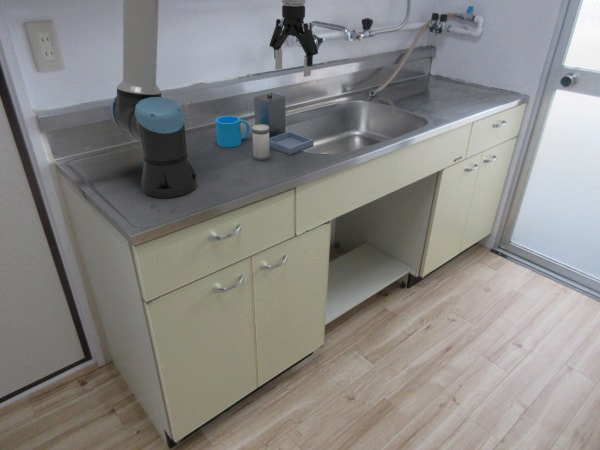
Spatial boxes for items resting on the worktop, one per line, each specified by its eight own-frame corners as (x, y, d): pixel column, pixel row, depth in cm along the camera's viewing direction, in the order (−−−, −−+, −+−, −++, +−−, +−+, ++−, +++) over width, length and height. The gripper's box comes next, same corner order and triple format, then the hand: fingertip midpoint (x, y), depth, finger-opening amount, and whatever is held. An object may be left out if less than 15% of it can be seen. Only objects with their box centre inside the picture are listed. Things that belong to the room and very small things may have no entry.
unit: (269, 141, 158) (268, 99, 150) (255, 136, 162) (254, 94, 154) (286, 135, 163) (285, 94, 156) (272, 130, 167) (271, 90, 160)
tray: (290, 155, 148) (290, 148, 147) (265, 146, 155) (265, 139, 153) (313, 146, 155) (313, 139, 154) (289, 137, 162) (289, 131, 160)
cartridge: (261, 161, 143) (260, 131, 138) (249, 157, 147) (248, 127, 141) (273, 157, 147) (272, 127, 142) (261, 152, 150) (261, 122, 145)
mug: (223, 149, 152) (221, 125, 148) (213, 141, 158) (211, 118, 154) (255, 142, 158) (254, 119, 153) (244, 135, 163) (243, 112, 159)
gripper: (331, 7, 142) (327, 77, 153) (274, 0, 157) (275, 64, 168) (315, 9, 138) (312, 80, 149) (258, 1, 152) (260, 67, 163)
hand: (292, 72), depth 158 cm, fingers open, 13 cm apart
